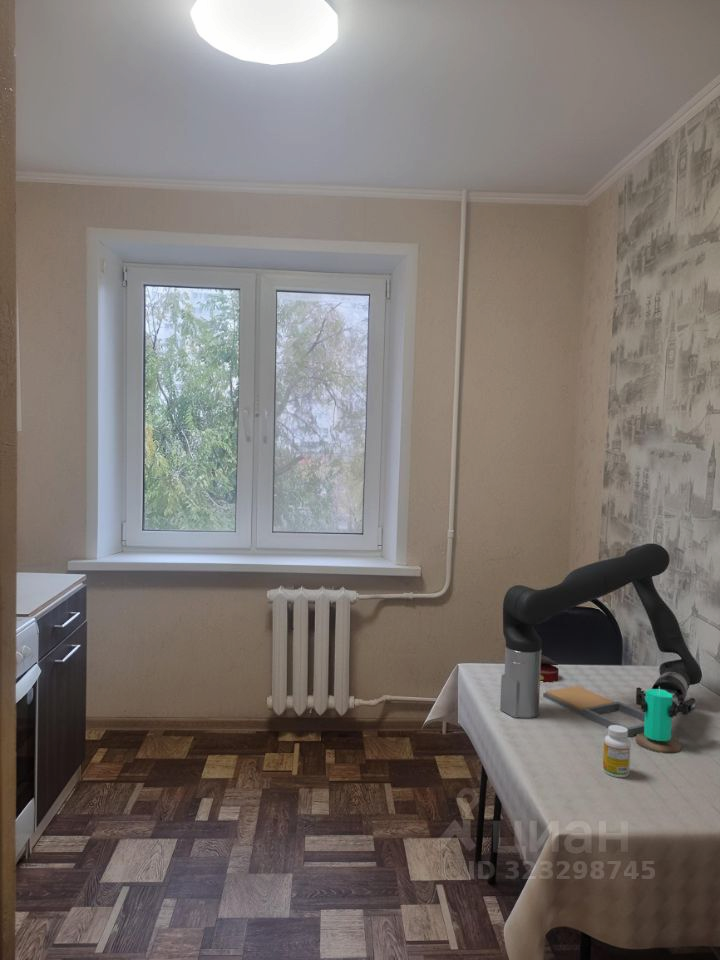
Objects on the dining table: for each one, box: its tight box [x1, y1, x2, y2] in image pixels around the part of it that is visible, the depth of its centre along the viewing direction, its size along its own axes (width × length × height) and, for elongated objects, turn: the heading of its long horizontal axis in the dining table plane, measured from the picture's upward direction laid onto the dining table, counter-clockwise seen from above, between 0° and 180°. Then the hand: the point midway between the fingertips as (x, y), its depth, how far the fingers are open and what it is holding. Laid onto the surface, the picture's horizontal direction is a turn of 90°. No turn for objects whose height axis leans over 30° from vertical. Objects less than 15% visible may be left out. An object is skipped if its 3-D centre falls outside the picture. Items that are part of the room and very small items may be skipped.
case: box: [542, 685, 645, 738], centre depth 189 cm, size 13×30×2 cm, turn 27°
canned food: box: [540, 654, 559, 683], centre depth 216 cm, size 11×10×10 cm
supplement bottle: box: [602, 725, 631, 778], centre depth 153 cm, size 5×5×10 cm
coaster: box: [635, 733, 682, 754], centre depth 169 cm, size 10×10×1 cm
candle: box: [643, 687, 673, 741], centre depth 169 cm, size 6×6×12 cm
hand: (657, 710), depth 166 cm, fingers closed on candle, 5 cm apart
